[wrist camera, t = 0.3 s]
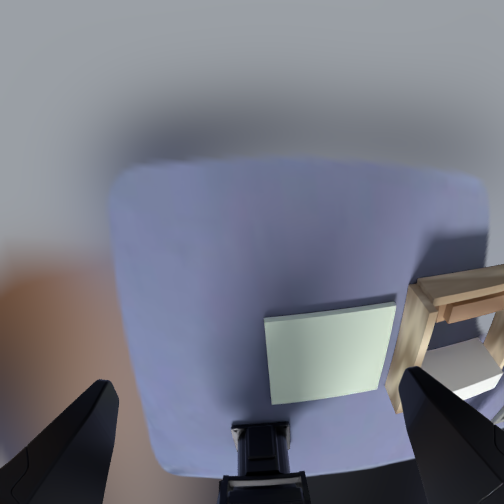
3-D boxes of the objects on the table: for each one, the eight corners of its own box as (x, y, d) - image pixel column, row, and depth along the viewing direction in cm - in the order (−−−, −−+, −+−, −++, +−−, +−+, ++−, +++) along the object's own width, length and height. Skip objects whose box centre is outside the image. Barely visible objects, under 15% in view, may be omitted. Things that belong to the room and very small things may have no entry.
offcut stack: (490, 293, 26) (506, 309, 23) (425, 310, 26) (439, 330, 24) (495, 272, 25) (512, 288, 22) (429, 288, 25) (445, 307, 22)
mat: (375, 384, 30) (376, 389, 30) (271, 400, 30) (271, 404, 30) (393, 301, 25) (396, 305, 25) (263, 317, 25) (264, 322, 25)
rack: (480, 359, 30) (495, 381, 26) (384, 385, 30) (395, 413, 27) (516, 261, 24) (539, 281, 20) (409, 279, 24) (431, 307, 21)
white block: (471, 352, 29) (494, 387, 24) (406, 369, 30) (427, 412, 24) (477, 336, 28) (503, 372, 23) (411, 354, 28) (434, 397, 23)
